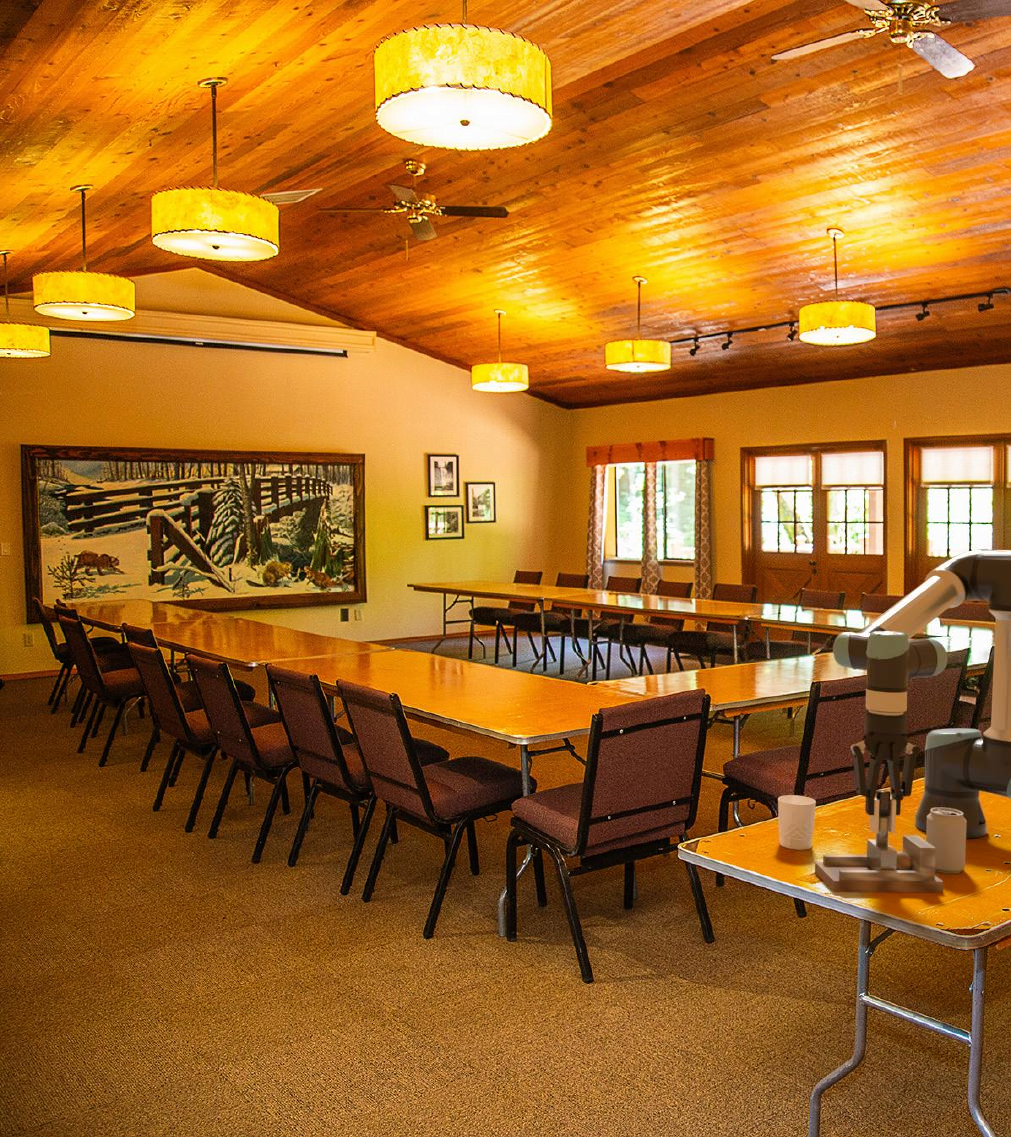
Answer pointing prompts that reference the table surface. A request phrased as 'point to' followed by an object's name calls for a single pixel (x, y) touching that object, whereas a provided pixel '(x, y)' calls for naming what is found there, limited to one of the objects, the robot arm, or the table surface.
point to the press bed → (883, 871)
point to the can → (947, 839)
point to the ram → (882, 838)
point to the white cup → (796, 821)
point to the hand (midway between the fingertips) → (882, 831)
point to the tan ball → (903, 861)
